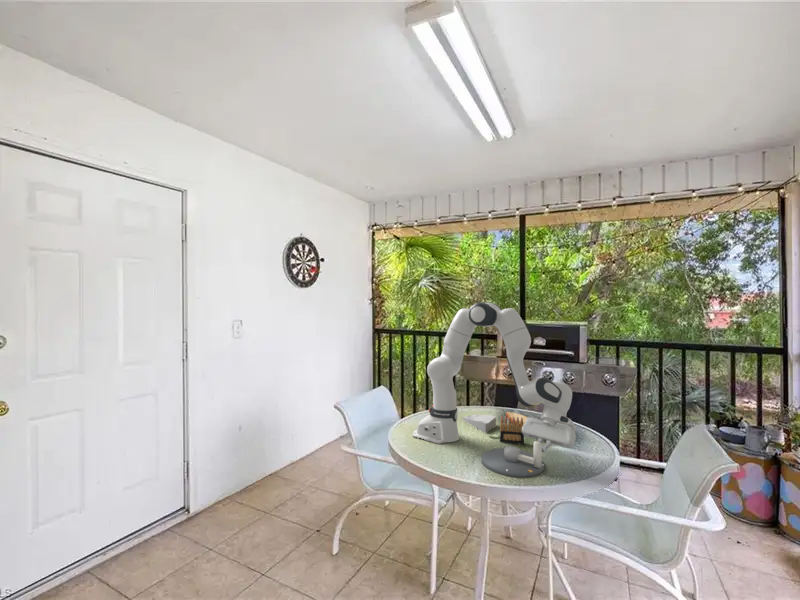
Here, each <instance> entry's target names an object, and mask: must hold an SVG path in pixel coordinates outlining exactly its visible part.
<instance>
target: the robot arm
mask: <svg viewBox="0 0 800 600" xmlns="http://www.w3.org/2000/svg"><path fill="white" fill-rule="evenodd" d="M476 327H483V328H488V327H489V328H490V327H496V329H498V332H499V333H500V335H501V337H502V340H503V343H504V346H505V350H506V353H505V354H506V359H507V363H508V367H509V371H510V373H511V376H512V378H513V382H514V385H515V394H516V398H517V399H518V402H520V404H521V405H523V406H524V407H525V408H526V407H527V408H533V407H535V406H537V405H540V404H541V405H543V409H542V413H541V416H537V415H536V416H535V415H529V416H526V417H527V419H526V422H525V423H524V425H523V427H522V430H521V431H522V433H523V435H524V437H526V438H529V439H532V440H537V441H539V442H542V444H544V442H545V444H544V445H542V453H545V454H546V452H547V451H548V449H550V448H551V446H552V444H553V445H555V446H559V447H563V448H567V449H572V448H574V447H575V443H576V438H577V437H576V436H577V435H576V431H577V427H576V424H575V423H574V422H573V420H572V419H571V418H569V417H567V413H568V412H569V410H570V407H571V404H572V399H573V389H572V388H571V387H570V386H569V385H568V384H567V383H565V382H562V381H557V382H556V381H552V380H551V379H549V378H546V377H539V378H536V379H533V380H532V381H530V380H529V377H528V374H527V372H526V371H527V370H526V368H525V364H524V357H525V355H526V353H527V352H528V350H529V349H530V346H531V343H532V338H531V335H530V332H529V330H528V327H527V326H526V323H525V321H523V319H522V317H521V316H520V314H519V313H518V311H517V310H516V309H514V308H512V307H508V308H504V309H502V308H501V307H500V306H499V305H498V304H496V303H492V302H477V303H474V304H473V305H471V306H470V307H469V308H464V307H463V308H461V309H459V310H458V311H457V313H456V314H455V316H454V317H453V318H452V321H451V323H450V325H449V327H448V329H447V332H446V334H445V337H444V339H443V346H442V347H443V348H442V352H441V354H440V356H438V357H436V358H433V359H432V360H431V361H430V362H429V363H428V365H427V368H426V373H427V375H428V377H429V378H430V381H431V387H432V394H433V395H432V400H433V401H432V405H431V407H429V409H428V410H427V411H428V413H429V414H427V415H426V416H425V417H423V418H422V419H421V420H420V421H419V422H418V425H417V429H415V430H414V431H413V432H412V437H413V436H415V437H418V438H417V439H419V438H421V439H420V440H423V439H424V440H423V441H427V442H430V441H431V442H432V443H435V444H440V445H441V444H444V443H453V442H457V441H458V440H460V439H461V437H460V433H459V429H458V421H457V420H458V407H457V391H456V389H455V385H454V381H453V380H454V379H453V378H454V376H456V375H457V374H458V373H459V372H460V371H461V369H462V363H463V360H464V357H465V352H466V349H467V348H468V345H469V342H470V340H471V338H472V336H473V333H474V331H475V329H476ZM415 437H414V438H415ZM431 442H430V443H431Z"/></svg>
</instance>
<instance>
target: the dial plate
mask: <svg viewBox="0 0 800 600" xmlns="http://www.w3.org/2000/svg"><path fill="white" fill-rule="evenodd" d="M504 448H505V447H504ZM504 448H502V447H500V448H498V447H497V448H492V449H488V450H486V451H484V452H483V453H482V454H481V463H482V465H483V466H484V468H486V469H488V470H489V471H491V472H493V473H497V474H498V475H503V476H508V477H514V478H528V477H529V478H530V477H536V476H538V475H540V474H541V473H543V472H544V470H545V462H544V461H543V459H542V467H541V468H536V467H534V466H533V464H531V463H528V462H525V461H521V460H520V461H519V462H509V461H506V460H505V459H504ZM520 454H522V455H526V456H529V457H532V458H533V453H532V452H529V451H526V450H521V449H520Z"/></svg>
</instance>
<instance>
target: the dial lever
mask: <svg viewBox="0 0 800 600" xmlns="http://www.w3.org/2000/svg"><path fill="white" fill-rule="evenodd" d="M542 446H543V443H542V442H539V441H538V440H537V441H536V440H534V441H533V448H532V449H533V453H532V454H533V458H532V457H529V456H526V455H522V454H520V450H521V449H520V448H519V447H516V446H512V445H511V446H509V445H507V446H504V459H505V460H506V461H509V462H519V461H520V460H521V461H525V462H528V463H531V464H533V466H534V467H536V468H541V467H542V460H543V458H542V457H543V452H542Z"/></svg>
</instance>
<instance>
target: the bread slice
mask: <svg viewBox="0 0 800 600" xmlns="http://www.w3.org/2000/svg"><path fill="white" fill-rule="evenodd" d="M505 416H507V418H508V419H507V421H508V420H509V416H510V417H511V424H512V420H513V417H514V418H515V425H516V421H517V417H518V418H519V426H520V422H521V417H522V418H523V425H524V423H525V422H526V419H527V417H528V416H527V415H526V416H525V415H523V414H520V413H516V412H512V411H511V412H510V411H506V414H505Z"/></svg>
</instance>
